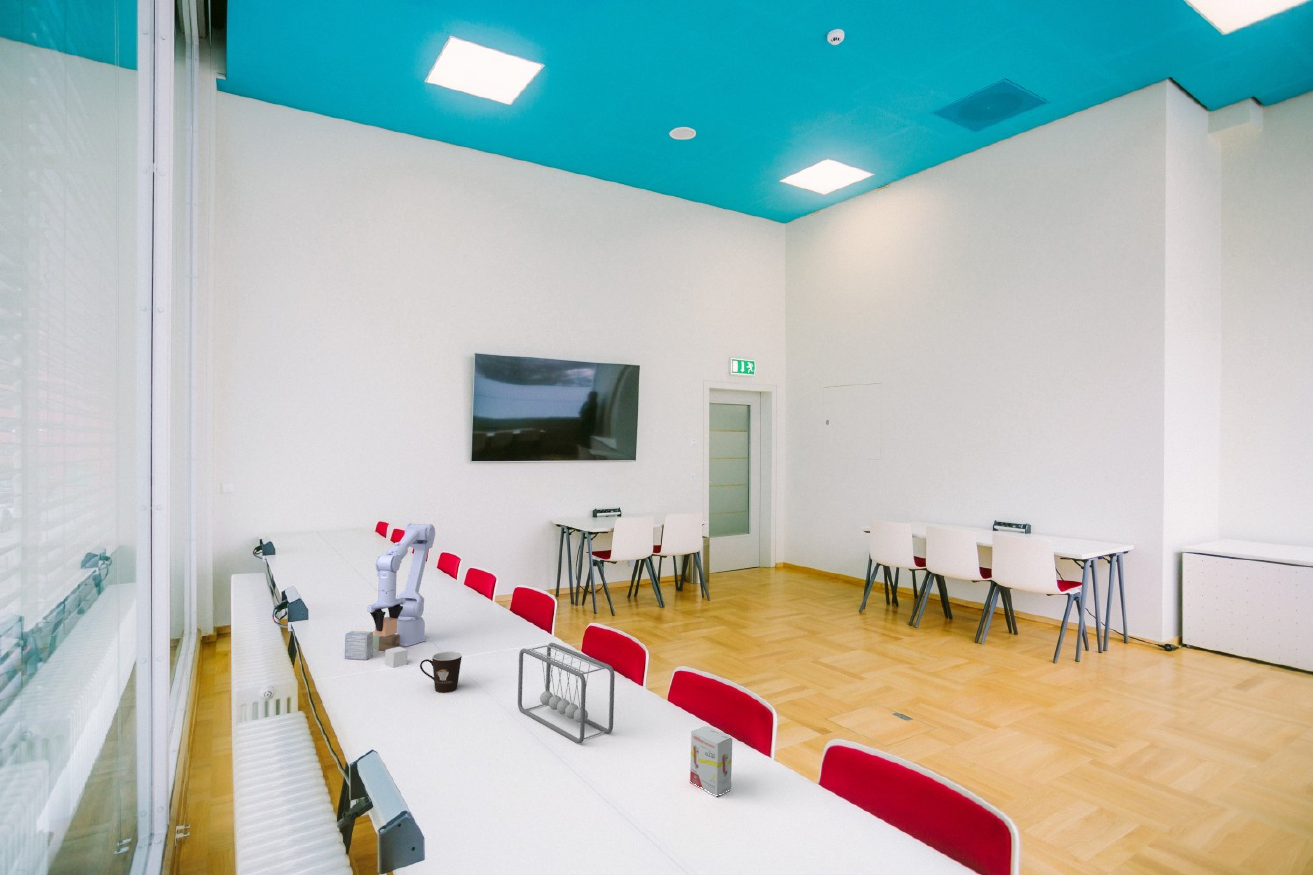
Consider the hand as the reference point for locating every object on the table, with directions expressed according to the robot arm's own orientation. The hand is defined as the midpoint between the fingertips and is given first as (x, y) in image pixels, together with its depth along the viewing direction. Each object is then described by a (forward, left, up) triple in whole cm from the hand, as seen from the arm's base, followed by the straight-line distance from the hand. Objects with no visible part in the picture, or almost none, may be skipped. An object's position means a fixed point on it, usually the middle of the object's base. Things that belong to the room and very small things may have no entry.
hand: (386, 628), depth 235 cm
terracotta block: (0, 0, -2) cm, 2 cm away
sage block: (-6, -11, -10) cm, 16 cm away
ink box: (+25, +133, -10) cm, 136 cm away
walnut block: (-6, -5, -10) cm, 12 cm away
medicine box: (+6, -6, -10) cm, 13 cm away
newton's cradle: (+13, +85, -10) cm, 86 cm away
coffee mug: (+12, +39, -10) cm, 42 cm away
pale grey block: (+4, +10, -10) cm, 14 cm away
